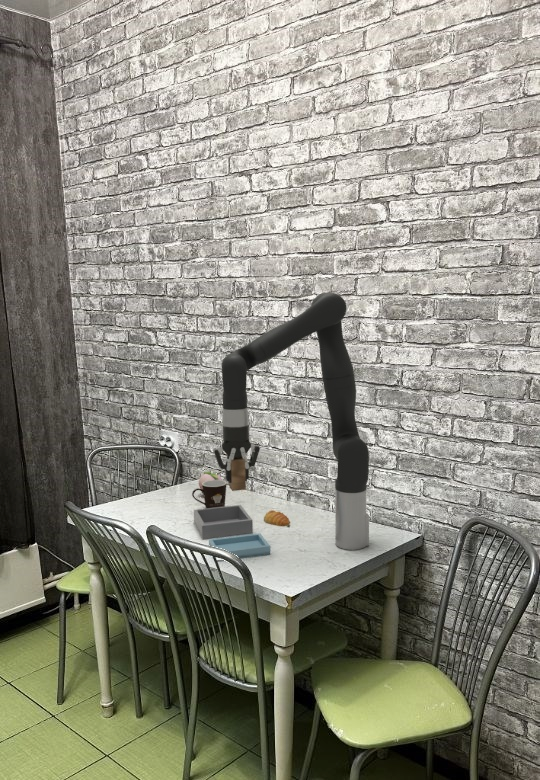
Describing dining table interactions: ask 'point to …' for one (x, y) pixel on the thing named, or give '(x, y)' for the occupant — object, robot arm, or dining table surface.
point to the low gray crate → (222, 522)
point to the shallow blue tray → (243, 545)
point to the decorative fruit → (208, 478)
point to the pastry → (276, 518)
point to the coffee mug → (213, 493)
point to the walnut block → (238, 474)
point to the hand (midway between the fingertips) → (237, 481)
